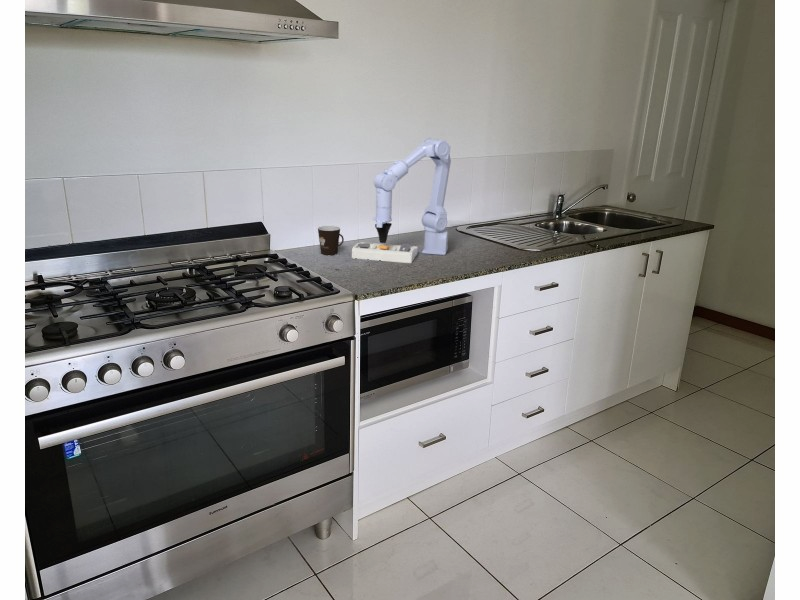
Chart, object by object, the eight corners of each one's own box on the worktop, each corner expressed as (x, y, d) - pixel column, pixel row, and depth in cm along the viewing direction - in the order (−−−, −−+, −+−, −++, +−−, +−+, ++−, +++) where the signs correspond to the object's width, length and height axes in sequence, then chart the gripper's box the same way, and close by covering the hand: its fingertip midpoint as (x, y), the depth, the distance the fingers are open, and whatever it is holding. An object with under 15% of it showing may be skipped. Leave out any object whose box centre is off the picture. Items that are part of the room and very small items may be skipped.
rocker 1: (369, 248, 224) (369, 243, 224) (365, 248, 218) (366, 244, 218) (361, 247, 224) (361, 243, 224) (357, 247, 219) (357, 243, 218)
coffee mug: (315, 251, 227) (315, 226, 223) (336, 249, 230) (336, 225, 227) (323, 259, 217) (323, 233, 213) (345, 257, 220) (345, 231, 217)
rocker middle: (389, 249, 223) (389, 245, 222) (386, 250, 217) (386, 245, 217) (381, 248, 223) (381, 244, 223) (378, 249, 217) (378, 245, 217)
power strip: (417, 253, 228) (417, 244, 227) (411, 263, 215) (411, 252, 214) (361, 249, 232) (361, 239, 231) (351, 258, 219) (351, 248, 218)
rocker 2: (410, 247, 221) (410, 243, 220) (407, 254, 216) (407, 250, 215) (402, 247, 222) (402, 243, 221) (399, 254, 217) (398, 250, 216)
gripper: (377, 202, 220) (377, 237, 225) (368, 209, 207) (368, 246, 211) (395, 204, 219) (394, 238, 223) (387, 210, 205) (386, 247, 210)
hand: (383, 242), depth 217 cm, fingers closed
